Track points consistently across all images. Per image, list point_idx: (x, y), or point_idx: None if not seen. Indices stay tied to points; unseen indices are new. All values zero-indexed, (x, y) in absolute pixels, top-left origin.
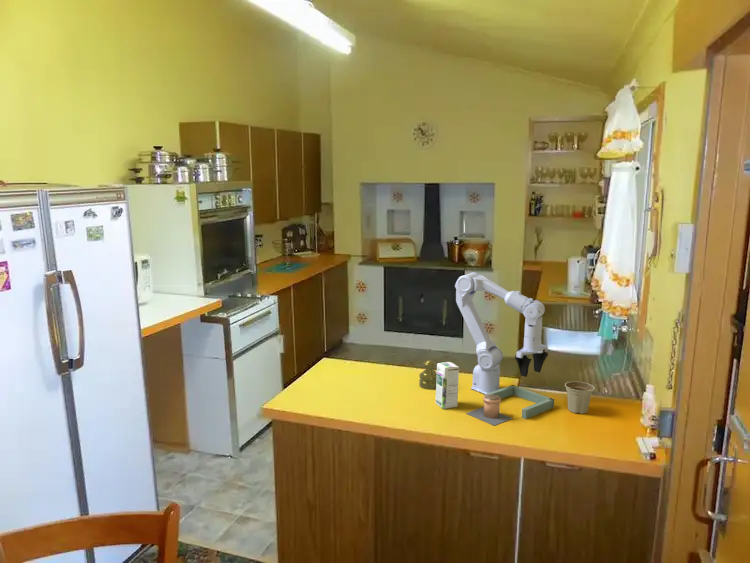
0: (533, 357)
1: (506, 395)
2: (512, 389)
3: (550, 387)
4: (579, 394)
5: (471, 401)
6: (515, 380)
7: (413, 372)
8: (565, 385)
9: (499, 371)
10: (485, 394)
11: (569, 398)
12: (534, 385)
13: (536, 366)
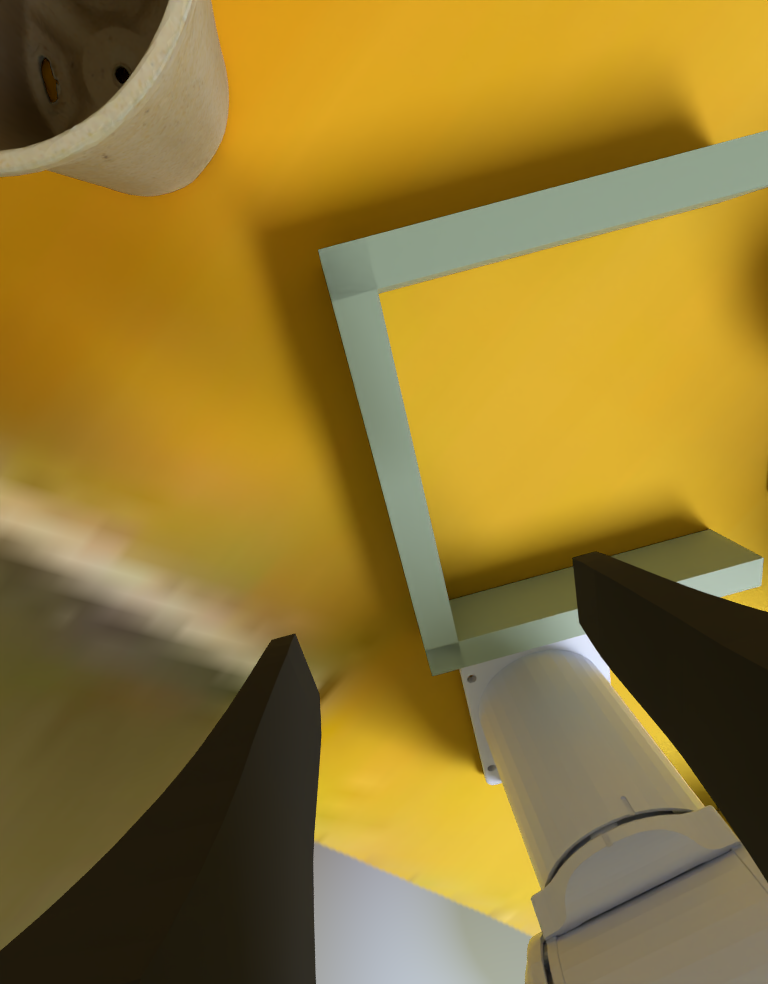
0: (314, 957)
1: (518, 589)
2: (463, 625)
3: (73, 633)
4: None
5: (752, 592)
6: None
7: None
8: (179, 7)
9: (587, 807)
10: (757, 580)
11: (208, 13)
12: (178, 693)
13: (302, 738)
